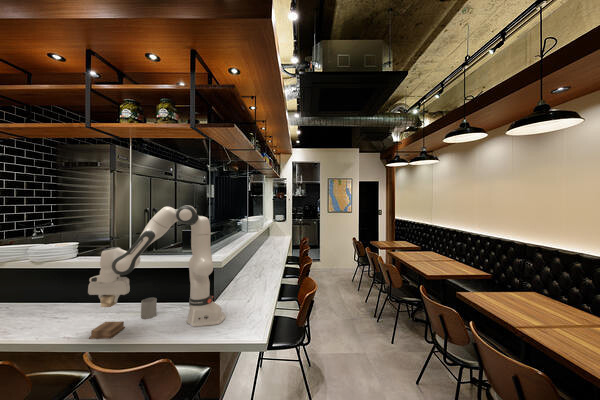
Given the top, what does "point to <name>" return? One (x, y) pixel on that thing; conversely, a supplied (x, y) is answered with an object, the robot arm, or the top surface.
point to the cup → (148, 308)
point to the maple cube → (107, 301)
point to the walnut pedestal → (107, 330)
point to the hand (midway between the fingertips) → (108, 302)
